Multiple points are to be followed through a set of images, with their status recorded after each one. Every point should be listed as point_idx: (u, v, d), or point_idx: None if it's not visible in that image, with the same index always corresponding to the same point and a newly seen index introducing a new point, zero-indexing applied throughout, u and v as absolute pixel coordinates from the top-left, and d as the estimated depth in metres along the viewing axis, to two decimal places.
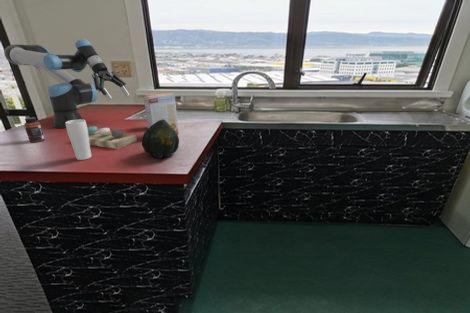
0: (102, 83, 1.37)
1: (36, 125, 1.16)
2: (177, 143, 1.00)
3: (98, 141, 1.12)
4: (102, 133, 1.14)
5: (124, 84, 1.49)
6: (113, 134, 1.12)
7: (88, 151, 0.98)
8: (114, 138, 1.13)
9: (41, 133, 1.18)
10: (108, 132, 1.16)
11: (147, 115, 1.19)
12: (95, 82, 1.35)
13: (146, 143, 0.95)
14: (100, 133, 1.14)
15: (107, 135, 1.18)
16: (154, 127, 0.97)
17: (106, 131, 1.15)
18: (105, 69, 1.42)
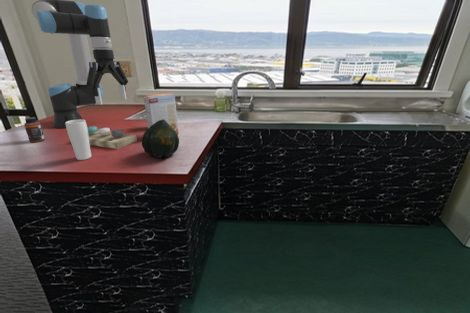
0: (98, 80, 1.00)
1: (36, 125, 1.16)
2: (177, 143, 1.00)
3: (98, 141, 1.12)
4: (102, 133, 1.14)
5: (126, 83, 1.13)
6: (113, 134, 1.12)
7: (88, 151, 0.98)
8: (114, 138, 1.13)
9: (41, 133, 1.18)
10: (108, 132, 1.16)
11: (147, 115, 1.19)
12: (89, 76, 0.98)
13: (146, 143, 0.95)
14: (100, 133, 1.14)
15: (107, 135, 1.18)
16: (154, 127, 0.97)
17: (106, 131, 1.15)
18: (111, 59, 1.03)
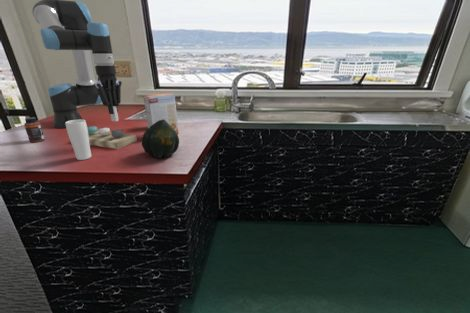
0: (110, 98, 1.06)
1: (36, 125, 1.16)
2: (177, 143, 1.00)
3: (98, 141, 1.12)
4: (102, 133, 1.14)
5: (117, 105, 1.09)
6: (113, 134, 1.12)
7: (88, 151, 0.98)
8: (114, 138, 1.13)
9: (41, 133, 1.18)
10: (108, 132, 1.16)
11: (147, 115, 1.19)
12: (101, 97, 1.04)
13: (146, 143, 0.95)
14: (100, 133, 1.14)
15: (107, 135, 1.18)
16: (154, 127, 0.97)
17: (106, 131, 1.15)
18: (113, 74, 1.05)
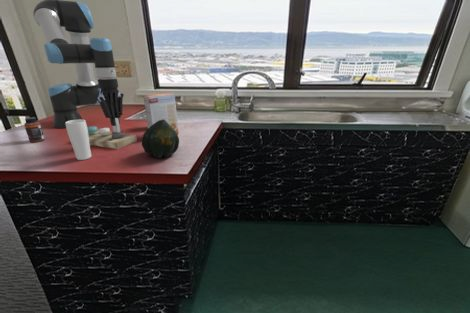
0: (112, 110, 1.08)
1: (36, 125, 1.16)
2: (177, 143, 1.00)
3: (98, 141, 1.12)
4: (102, 133, 1.14)
5: (119, 117, 1.12)
6: (113, 136, 1.12)
7: (88, 151, 0.98)
8: (114, 138, 1.13)
9: (41, 133, 1.18)
10: (108, 132, 1.16)
11: (147, 115, 1.19)
12: (104, 109, 1.06)
13: (146, 143, 0.95)
14: (100, 133, 1.14)
15: (107, 135, 1.18)
16: (154, 127, 0.97)
17: (106, 131, 1.15)
18: (115, 87, 1.07)
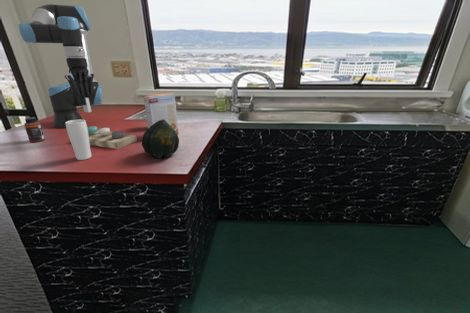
0: (82, 90, 1.11)
1: (36, 125, 1.16)
2: (177, 143, 1.00)
3: (98, 141, 1.12)
4: (102, 133, 1.14)
5: (90, 96, 1.14)
6: (113, 136, 1.12)
7: (88, 151, 0.98)
8: (114, 138, 1.13)
9: (41, 133, 1.18)
10: (108, 132, 1.16)
11: (147, 115, 1.19)
12: (73, 88, 1.08)
13: (146, 143, 0.95)
14: (100, 133, 1.14)
15: (107, 135, 1.18)
16: (154, 127, 0.97)
17: (106, 131, 1.15)
18: (84, 67, 1.09)
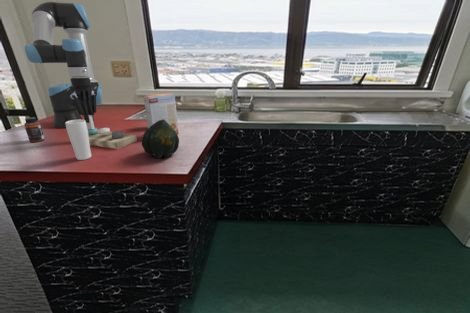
0: (85, 108, 1.14)
1: (36, 125, 1.16)
2: (177, 143, 1.00)
3: (98, 141, 1.12)
4: (102, 133, 1.14)
5: (93, 114, 1.17)
6: (113, 136, 1.12)
7: (88, 151, 0.98)
8: (114, 138, 1.13)
9: (41, 133, 1.18)
10: (108, 132, 1.16)
11: (147, 115, 1.19)
12: (77, 107, 1.11)
13: (146, 143, 0.95)
14: (100, 133, 1.14)
15: (107, 135, 1.18)
16: (154, 127, 0.97)
17: (106, 131, 1.15)
18: (88, 86, 1.12)
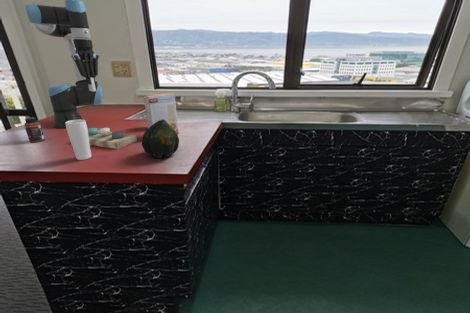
0: (87, 70, 1.19)
1: (36, 125, 1.16)
2: (177, 143, 1.00)
3: (98, 141, 1.12)
4: (102, 133, 1.14)
5: (94, 76, 1.22)
6: (113, 136, 1.12)
7: (88, 151, 0.98)
8: (114, 138, 1.13)
9: (41, 133, 1.18)
10: (108, 132, 1.16)
11: (147, 115, 1.19)
12: (79, 68, 1.16)
13: (146, 143, 0.95)
14: (100, 133, 1.14)
15: (107, 135, 1.18)
16: (154, 127, 0.97)
17: (106, 131, 1.15)
18: (89, 48, 1.17)
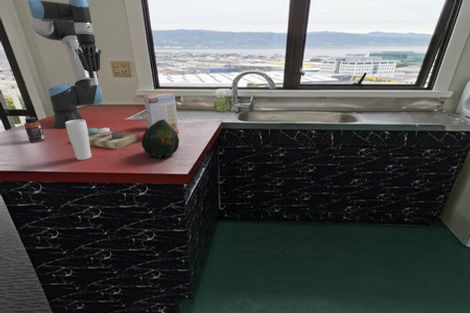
0: (90, 64, 1.22)
1: (36, 125, 1.16)
2: (177, 143, 1.00)
3: (98, 141, 1.12)
4: (102, 133, 1.14)
5: (97, 70, 1.25)
6: (113, 136, 1.12)
7: (88, 151, 0.98)
8: (114, 138, 1.13)
9: (41, 133, 1.18)
10: (108, 132, 1.16)
11: (147, 115, 1.19)
12: (82, 62, 1.19)
13: (146, 143, 0.95)
14: (100, 133, 1.14)
15: (107, 135, 1.18)
16: (154, 127, 0.97)
17: (106, 131, 1.15)
18: (92, 42, 1.20)
